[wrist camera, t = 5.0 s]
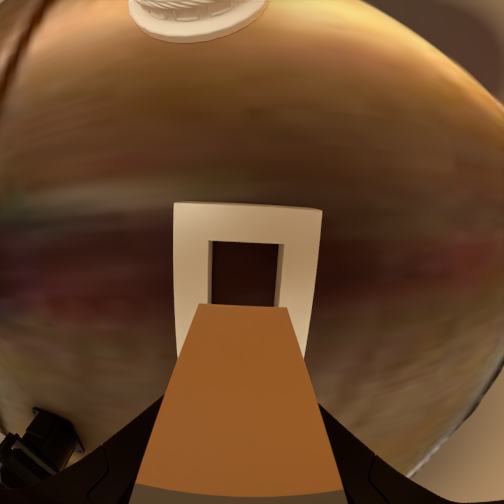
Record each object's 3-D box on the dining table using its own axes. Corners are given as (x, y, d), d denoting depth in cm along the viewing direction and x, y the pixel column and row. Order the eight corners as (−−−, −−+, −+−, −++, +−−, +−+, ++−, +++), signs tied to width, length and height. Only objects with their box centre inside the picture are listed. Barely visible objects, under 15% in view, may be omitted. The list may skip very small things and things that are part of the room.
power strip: (271, 483, 27) (273, 503, 23) (198, 480, 26) (196, 500, 23) (312, 207, 20) (325, 211, 16) (182, 201, 19) (170, 203, 16)
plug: (275, 395, 11) (301, 580, 3) (201, 391, 10) (170, 576, 3) (286, 307, 10) (358, 540, 2) (198, 303, 10) (119, 534, 2)
